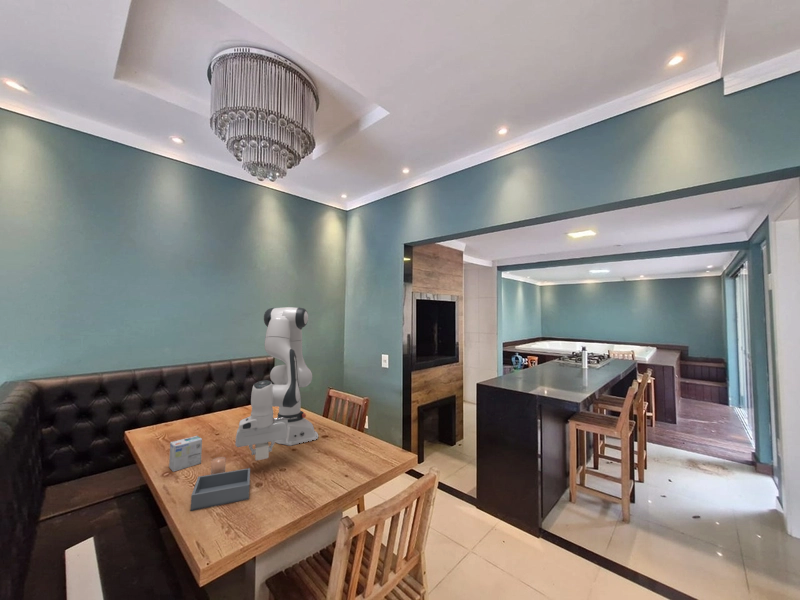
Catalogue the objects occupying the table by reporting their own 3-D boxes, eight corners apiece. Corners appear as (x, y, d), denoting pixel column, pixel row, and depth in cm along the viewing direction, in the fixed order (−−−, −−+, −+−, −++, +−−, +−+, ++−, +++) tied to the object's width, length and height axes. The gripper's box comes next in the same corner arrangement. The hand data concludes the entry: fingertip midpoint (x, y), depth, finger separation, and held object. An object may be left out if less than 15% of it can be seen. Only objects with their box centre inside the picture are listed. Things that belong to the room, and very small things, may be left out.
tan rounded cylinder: (225, 473, 130) (226, 456, 130) (224, 479, 125) (225, 461, 126) (211, 475, 128) (212, 458, 128) (209, 481, 123) (210, 463, 124)
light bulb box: (196, 459, 142) (197, 434, 143) (201, 463, 138) (203, 438, 139) (168, 467, 134) (169, 441, 135) (172, 472, 130) (174, 445, 131)
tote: (249, 481, 124) (250, 468, 124) (248, 499, 112) (249, 484, 112) (197, 490, 117) (198, 476, 117) (190, 511, 104) (191, 495, 105)
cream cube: (267, 453, 137) (267, 441, 137) (268, 458, 132) (268, 446, 132) (255, 455, 134) (255, 443, 135) (255, 460, 130) (255, 448, 130)
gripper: (286, 414, 141) (286, 445, 141) (235, 421, 132) (235, 454, 132) (288, 418, 135) (288, 450, 135) (235, 426, 126) (234, 461, 126)
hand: (261, 452), depth 133 cm, fingers closed on cream cube, 5 cm apart
